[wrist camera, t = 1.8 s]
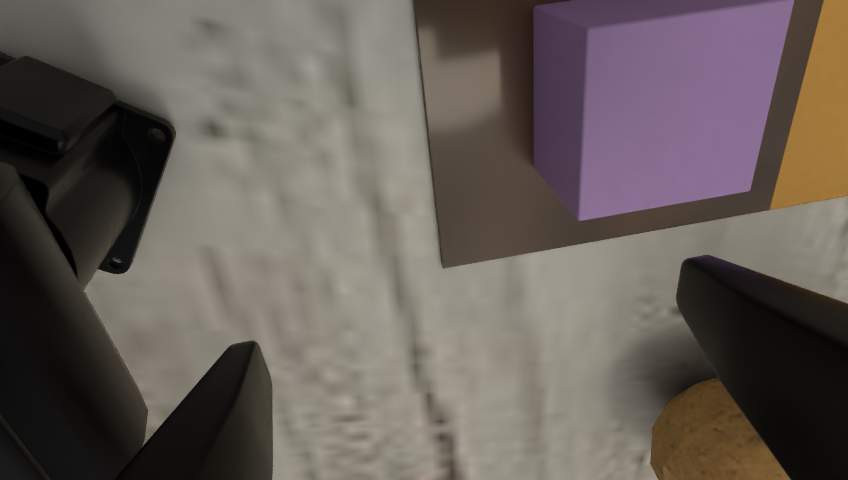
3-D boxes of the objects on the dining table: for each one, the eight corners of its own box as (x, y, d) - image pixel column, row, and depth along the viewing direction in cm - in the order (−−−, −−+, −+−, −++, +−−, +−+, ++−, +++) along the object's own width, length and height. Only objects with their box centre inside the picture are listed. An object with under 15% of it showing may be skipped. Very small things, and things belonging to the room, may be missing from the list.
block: (532, 168, 21) (577, 222, 17) (532, 5, 18) (587, 28, 14) (676, 144, 22) (751, 191, 18) (700, -19, 19) (796, -4, 15)
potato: (690, 297, 26) (816, 427, 20) (851, 373, 32) (995, 497, 25) (572, 426, 30) (644, 574, 23) (734, 476, 35) (831, 608, 29)
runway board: (442, 266, 23) (443, 268, 23) (399, -122, 16) (400, -122, 16) (766, 208, 24) (769, 210, 24) (865, -179, 17) (870, -180, 17)
